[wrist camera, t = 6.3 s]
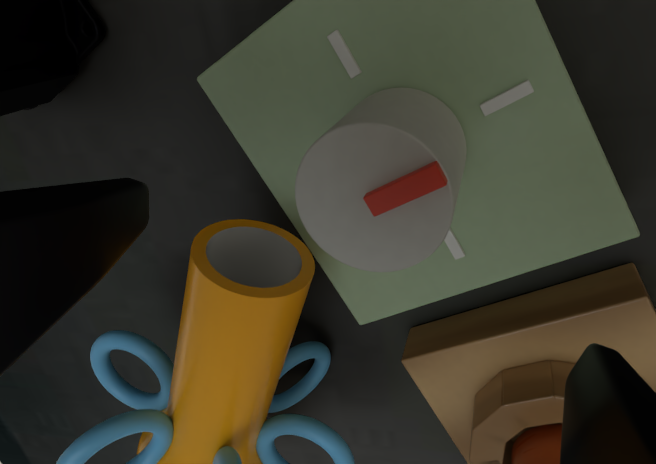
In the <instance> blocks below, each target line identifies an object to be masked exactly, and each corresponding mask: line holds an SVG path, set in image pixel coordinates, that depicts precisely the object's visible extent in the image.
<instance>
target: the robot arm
mask: <svg viewBox="0 0 656 464" xmlns="http://www.w3.org/2000/svg"><path fill="white" fill-rule="evenodd" d="M89 25H91V27H92V29H93V33H91V31H90V27H89ZM104 37H105V28H104V25H103V23H102V21H101V20H100V18H99V17H98V15H97V14H96V13H95V11H94V10H93V8H92V7H91V5H90V4H89V3H88V1H87V0H0V116H2V115H6V114H9V113H13V112H16V111H20V110H29V109H33V108H35V107H37V106H38V105H41V104H45V103H48V102H50V101H51V100H52V99H53V98H54V97H55V96H56V95H57V94H59V93H60V92H61V91H62V90H63V89H64V88H65V87H66V86H67V85H68V84H69V83H70V82H71V81H72V80H73V79H74V78H75V77H76V76H77V75H78V72H79V66H78V64H79V63H80V62H81V61H82V60H83V59H84V58H85V57H86V56H87V55H88V54H89V53H90V52H91V51H92V50H93V49H94V48H95V47H96V46H97V45H98V44H99V43H100V42H101V41H102V40H103V39H104ZM148 220H149V191H148V187H147V185H146V184H145V183H142V182H140V181H137V180H134V179H131V178H120V179H111V180H102V181H93V182H84V183H75V184H66V185H57V186H48V187H39V188H30V189H21V190H12V191H3V192H0V376H1V375H2V374H3V373H4V372H5V371H6V370H7V369H8V368H9V367H10V366H11V365H12V364H14V363H15V362H16V361H17V360H18V359H19V358H20V357H21V356H22V355H23V354H24V353H25V352H26V351H27V350H28V349H29V348H30V347H31V346H32V345H33V344H34V343H36V342H37V341H38V340H39V339H40V338H41V337H42V336H43V335H44V334H45V333H46V332H47V331H48V330H49V329H50V328H51V327H52V326H53V325H54V324H55V323H57V322H58V321H59V320H60V319H61V318H62V317H63V316H64V315H65V314H66V313H67V312H68V311H69V310H70V309H71V308H72V307H73V306H74V305H75V304H76V303H77V302H79V301H80V300H81V299H82V298H83V297H84V296H85V295H86V294H87V293H88V292H89V291H90V290H91V289H92V288H93V287H94V286H95V285H96V284H97V283H98V282H99V281H100V280H101V279H102V278H103V277H104V276H105V275H106V274H107V273H108V272H109V270H110V269H111V268H112V267H113V266H114V265H115V263H116V262H117V261H118V260H119V259H120V257H121V256H122V255H123V254H124V253H125V252H126V250H127V249H128V248H129V247H130V246H131V245H132V243H133V242H134V241H135V240H136V239H137V237H138V236H139V235H140V234H141V233H142V232H143V230H144V229H145V228H146V226H147V224H148ZM560 464H656V393H655V391H654V390H653V389H652V388H651V387H650V386H649V385H648V384H647V383H646V382H645V381H644V379H643V378H642V377H641V376H640V375H639V374H638V373H637V372H636V371H635V370H634V369H633V367H632V366H631V365H630V364H629V363H628V362H627V361H626V360H625V359H624V358H623V357H622V355H621V354H620V353H619V352H618V351H616V350H614V349H611V348H608V347H605V346H603V345H600V344H597V343H592V344H590V345H589V346H587V347H586V349H585V350H584V352H583V353H582V355H581V356H580V358H579V359H578V361H577V362H576V364H575V365H574V367H573V368H572V370H571V371H570V373H569V375H568V377H567V380H566V384H565V393H564V407H563V421H562V435H561V449H560Z"/></svg>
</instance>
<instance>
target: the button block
mask: <svg viewBox="0 0 656 464" xmlns="http://www.w3.org/2000/svg"><path fill="white" fill-rule="evenodd" d="M592 343H597V344H600V345H603V346H605V347H608V348H611V349H614V350H616V351H618V352H619V353H620V354H621V355H622V357H623V358H624V359H625V360H626V361H627V362H628V363H629V364H630V365H631V366H632V367H633V369H634V370H635V371H636V372H637V373H638V374H639V375H640V376H641V377H642V378H643V379H644V381H645V382H646V383H647V384H648V385H649V386H650V387H651V388H652V389H653V390H654V391H655V393H656V310H655V308H654V306H653V303H652V301H651V299H650V297H649V295H648V293H647V290H646V288H645V286H644V284H643V282H642V280H641V277H640V275H639V273H638V271H637V269H636V267H635V265H634V264H633V263H628V264H625V265H622V266H618V267H615V268H612V269H608V270H605V271H602V272H598V273H595V274H591V275H588V276H585V277H581V278H578V279H575V280H571V281H568V282H565V283H561V284H558V285H554V286H551V287H548V288H544V289H541V290H538V291H534V292H531V293H528V294H524V295H521V296H517V297H514V298H511V299H507V300H504V301H501V302H497V303H494V304H490V305H487V306H484V307H480V308H477V309H474V310H470V311H467V312H464V313H460V314H457V315H453V316H450V317H447V318H443V319H440V320H437V321H433V322H430V323H427V324H423V325H420V326H416V327H413V328H411V329H410V331H409V334H408V338H407V341H406V345H405V349H404V352H403V356H402V359H401V361H402V363H403V365H404V366H405V368H406V370H407V371H408V373H409V374H410V376H411V377H412V379H413V380H414V382H415V383H416V385H417V386H418V388H419V389H420V391H421V393H422V394H423V396H424V397H425V399H426V400H427V402H428V403H429V405H430V406H431V408H432V409H433V411H434V412H435V414H436V415H437V417H438V419H439V420H440V422H441V423H442V425H443V426H444V428H445V429H446V431H447V432H448V434H449V435H450V437H451V438H452V440H453V442H454V443H455V445H456V446H457V448H458V449H459V451H460V452H461V454H462V455H463V457H464V458H465V460H466V461H467V463H468V464H511V453H512V447H513V444H514V442H515V440H516V439H517V438H518V437H519V436H520V435H521V434H522V433H523V432H525V431H527V430H529V429H531V428H533V427H536V426H541V425H547V424H562V421H563V407H564V393H565V384H566V380H567V377H568V375H569V373H570V371H571V370H572V368H573V367H574V365H575V364H576V362H577V361H578V359H579V358H580V356H581V355H582V353H583V352H584V350H585V349H586V347H587V346H589V345H590V344H592Z"/></svg>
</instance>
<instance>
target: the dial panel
mask: <svg viewBox="0 0 656 464" xmlns="http://www.w3.org/2000/svg"><path fill="white" fill-rule="evenodd" d="M197 81H198V82H199V84H200V85H201V87H202V88H203V90H204V91H205V93H206V94H207V96H208V97H209V99H210V101H211V102H212V104H213V105H214V107H215V108H216V110H217V111H218V113H219V114H220V116H221V117H222V119H223V120H224V122H225V123H226V125H227V126H228V128H229V129H230V131H231V132H232V134H233V135H234V137H235V138H236V140H237V141H238V143H239V144H240V146H241V147H242V149H243V150H244V152H245V153H246V155H247V156H248V158H249V159H250V161H251V162H252V164H253V165H254V167H255V168H256V170H257V171H258V173H259V174H260V176H261V177H262V179H263V180H264V182H265V183H266V185H267V186H268V188H269V189H270V191H271V192H272V194H273V195H274V197H275V198H276V200H277V201H278V203H279V204H280V206H281V207H282V209H283V210H284V212H285V213H286V215H287V216H288V218H289V219H290V221H291V222H292V224H293V225H294V227H295V228H296V230H297V231H298V233H299V234H300V236H301V237H302V239H303V240H304V242H305V243H306V245H307V246H308V248H309V249H310V251H311V252H312V254H313V255H314V257H315V258H316V260H317V261H318V263H319V264H320V266H321V267H322V269H323V270H324V272H325V273H326V275H327V276H328V278H329V280H330V281H331V283H332V284H333V286H334V287H335V289H336V290H337V292H338V293H339V295H340V296H341V298H342V299H343V301H344V302H345V304H346V305H347V307H348V308H349V310H350V311H351V313H352V314H353V316H354V317H355V319H356V320H357V322H358V323H359V325H364V324H367V323H370V322H373V321H376V320H379V319H382V318H386V317H389V316H392V315H395V314H398V313H401V312H404V311H407V310H411V309H414V308H417V307H420V306H423V305H426V304H429V303H432V302H436V301H439V300H442V299H445V298H448V297H451V296H454V295H457V294H461V293H464V292H467V291H470V290H473V289H476V288H479V287H483V286H486V285H489V284H492V283H495V282H498V281H501V280H504V279H508V278H511V277H514V276H517V275H520V274H523V273H526V272H529V271H533V270H536V269H539V268H542V267H545V266H548V265H551V264H554V263H558V262H561V261H564V260H567V259H570V258H573V257H576V256H580V255H583V254H586V253H589V252H592V251H595V250H598V249H601V248H605V247H608V246H611V245H614V244H617V243H620V242H623V241H626V240H630V239H633V238H636V237H638V236H640V232H639V230H638V228H637V225H636V223H635V221H634V219H633V216H632V214H631V212H630V210H629V208H628V205H627V203H626V201H625V199H624V196H623V194H622V192H621V190H620V188H619V185H618V183H617V181H616V179H615V176H614V174H613V172H612V170H611V168H610V165H609V163H608V161H607V159H606V156H605V154H604V152H603V150H602V148H601V145H600V143H599V141H598V139H597V136H596V134H595V132H594V130H593V128H592V125H591V123H590V121H589V119H588V116H587V114H586V112H585V110H584V108H583V105H582V103H581V101H580V99H579V96H578V94H577V92H576V90H575V88H574V85H573V83H572V81H571V79H570V76H569V74H568V72H567V70H566V68H565V65H564V63H563V61H562V59H561V57H560V54H559V52H558V50H557V48H556V45H555V43H554V41H553V39H552V37H551V34H550V32H549V30H548V28H547V25H546V23H545V21H544V19H543V17H542V14H541V12H540V10H539V8H538V5H537V3H536V1H535V0H293V1H292V2H290V3H289V4H288V5H287V6H285V7H284V8H283V9H282V10H280V11H279V12H278V13H277V14H275V15H274V16H273V17H272V18H270V19H269V20H268V21H267V22H265V23H264V24H263V25H262V26H260V27H259V28H258V29H257V30H255V31H254V32H253V33H252V34H250V35H249V36H248V37H247V38H245V39H244V40H243V41H242V42H240V43H239V44H238V45H237V46H235V47H234V48H233V49H232V50H230V51H229V52H228V53H227V54H225V55H224V56H223V57H222V58H220V59H219V60H218V61H217V62H215V63H214V64H213V65H212V66H210V67H209V68H208V69H207V70H205V71H204V72H203V73H202V74H200V75H199V76H198V77H197ZM400 87H403V88H412V89H417V90H421V91H423V92H426V93H429V94H430V95H432V96H434V97H436V98H437V99H439V100H440V101H442V102H443V103H444V104H445V105H446V106H447V107H448V108H449V109H450V110H451V111H452V112H453V113H454V115H455V116H456V118H457V119H458V121H459V123H460V125H461V127H462V129H463V132H464V136H465V139H466V147H467V154H466V163H465V167H464V172H463V176H462V180H461V185H460V189H459V193H458V198H457V202H456V206H455V211H454V215H453V219H452V223H451V226H450V229H449V231H448V233H447V235H446V237H445V239H444V240H443V242H442V243H441V245H440V246H439V247H438V248H437V249H436V250H435V252H434V253H433V254H431V255H430V256H429V257H428V258H426V259H425V260H423V261H422V262H420V263H418V264H416V265H414V266H412V267H409V268H406V269H403V270H399V271H393V272H370V271H365V270H360V269H357V268H354V267H351V266H348V265H346V264H344V263H342V262H340V261H338V260H336V259H335V258H333V257H332V256H330V255H329V254H328V253H326V252H325V251H324V250H323V249H322V248H321V247H320V246H319V245H318V244H317V243H316V242H315V241H314V240H313V239H312V237H311V236H310V235H309V233H308V232H307V230H306V228H305V227H304V225H303V223H302V220H301V218H300V216H299V213H298V209H297V206H296V199H295V181H296V175H297V171H298V167H299V165H300V163H301V160H302V158H303V157H304V155H305V153H306V152H307V150H308V149H309V148H310V147H311V145H312V144H313V143H314V142H315V141H316V140H318V139H319V138H320V137H321V136H322V135H323V134H324V133H325V132H327V131H328V130H329V129H330V128H331V127H332V126H334V125H335V124H336V123H337V122H338V121H339V120H340V119H342V118H343V117H344V116H345V115H346V114H347V113H348V112H350V111H351V110H352V109H353V108H354V107H355V106H356V105H358V104H359V103H360V102H361V101H362V100H364V99H365V98H367V97H368V96H370V95H372V94H374V93H376V92H379V91H382V90H385V89H390V88H400Z"/></svg>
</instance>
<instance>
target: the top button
mask: <svg viewBox="0 0 656 464" xmlns="http://www.w3.org/2000/svg"><path fill="white" fill-rule="evenodd" d="M561 435H562V424H547V425H541V426H536V427H533V428H531V429H529V430H527V431H525V432H523V433H522V434H521V435H520V436H519V437H518V438H517V439H516V440H515V442H514V444H513V447H512V453H511V464H560V449H561Z"/></svg>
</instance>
